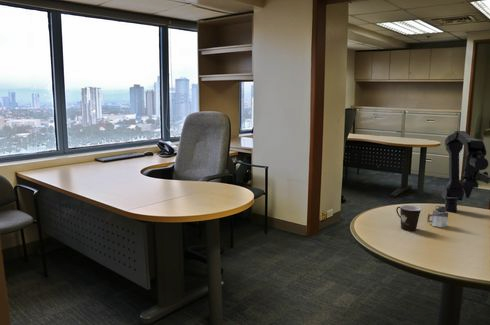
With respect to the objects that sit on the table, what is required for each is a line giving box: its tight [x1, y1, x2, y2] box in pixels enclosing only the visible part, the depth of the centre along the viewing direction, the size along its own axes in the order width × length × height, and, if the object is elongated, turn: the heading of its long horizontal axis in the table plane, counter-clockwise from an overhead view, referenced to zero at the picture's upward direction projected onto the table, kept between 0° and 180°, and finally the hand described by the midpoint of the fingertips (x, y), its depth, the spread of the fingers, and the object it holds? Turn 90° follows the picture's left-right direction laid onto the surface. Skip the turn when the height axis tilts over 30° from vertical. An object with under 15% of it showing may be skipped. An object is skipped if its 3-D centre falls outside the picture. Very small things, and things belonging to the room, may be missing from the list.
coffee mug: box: [395, 204, 422, 232], centre depth 182 cm, size 12×9×10 cm
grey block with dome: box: [426, 210, 449, 229], centre depth 187 cm, size 7×8×6 cm
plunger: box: [435, 205, 447, 214], centre depth 186 cm, size 5×5×8 cm
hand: (467, 197), depth 191 cm, fingers closed
